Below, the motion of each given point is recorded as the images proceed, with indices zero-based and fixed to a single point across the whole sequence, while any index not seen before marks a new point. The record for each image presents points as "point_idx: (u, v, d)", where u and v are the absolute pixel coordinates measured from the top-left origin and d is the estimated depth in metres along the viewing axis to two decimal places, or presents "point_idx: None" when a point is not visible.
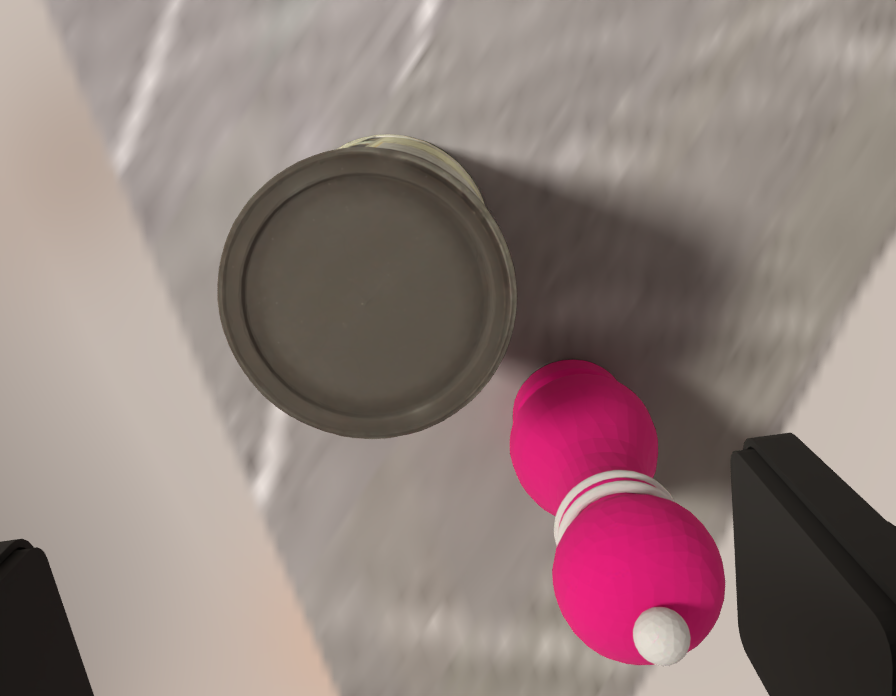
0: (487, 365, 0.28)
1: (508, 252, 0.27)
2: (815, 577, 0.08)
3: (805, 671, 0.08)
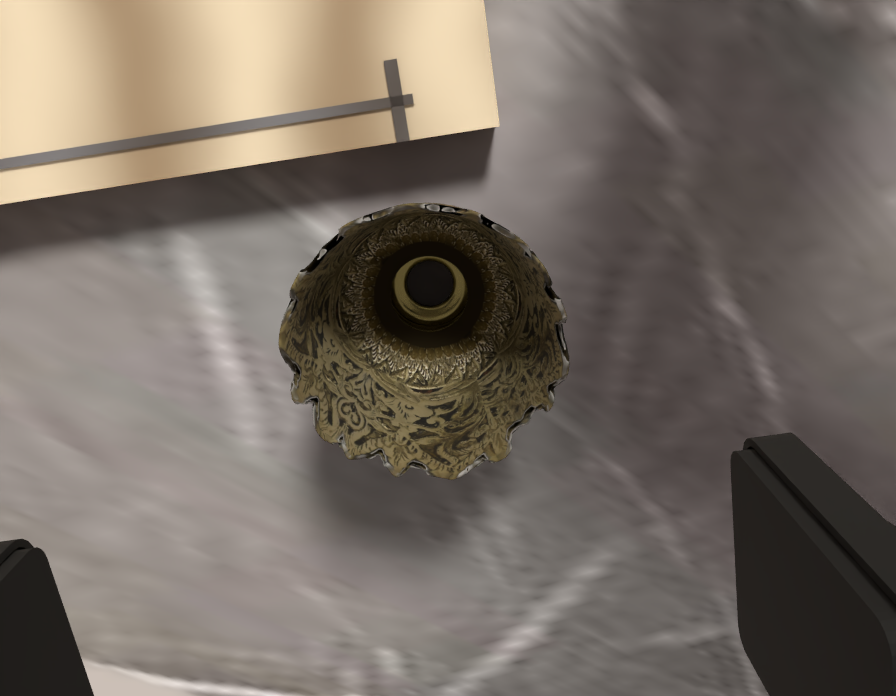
0: None
1: None
2: (815, 577, 0.08)
3: (805, 671, 0.08)
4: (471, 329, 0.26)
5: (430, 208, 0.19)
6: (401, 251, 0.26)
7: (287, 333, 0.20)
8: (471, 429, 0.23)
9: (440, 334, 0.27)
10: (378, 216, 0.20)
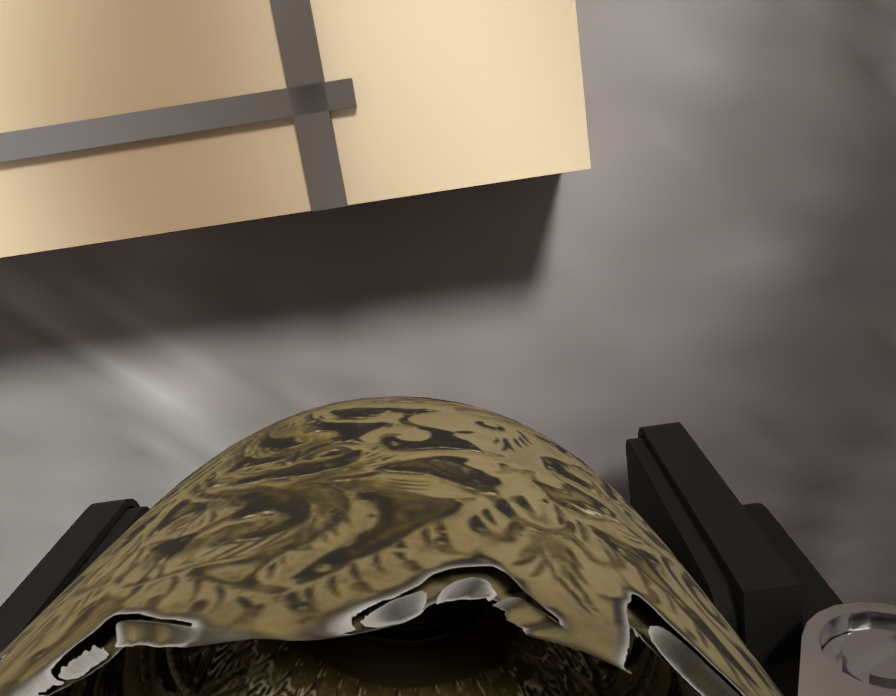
0: None
1: None
2: (675, 551, 0.09)
3: None
4: (507, 649, 0.11)
5: (382, 620, 0.04)
6: None
7: None
8: None
9: (432, 657, 0.11)
10: (144, 634, 0.04)
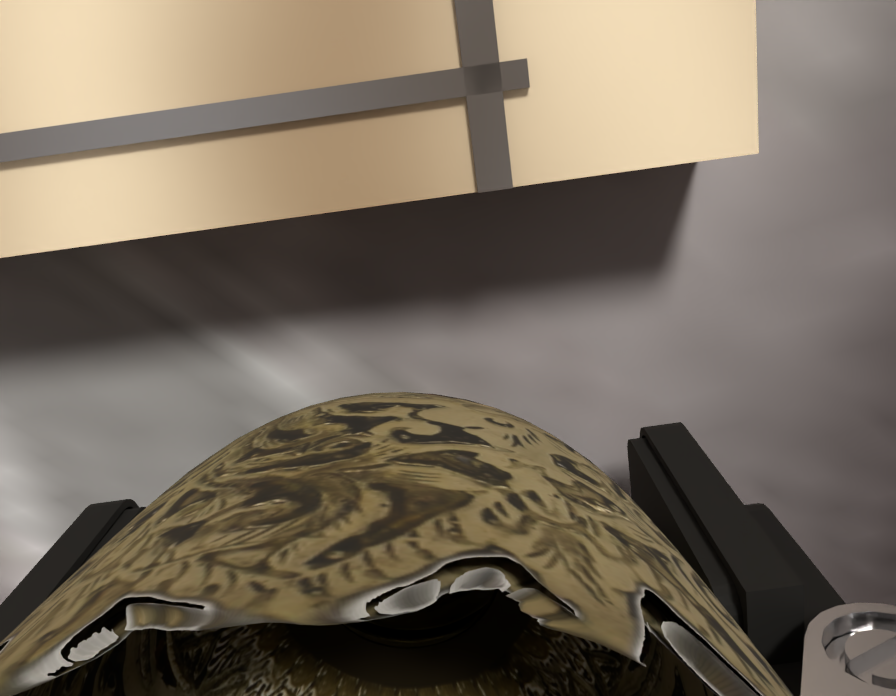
0: None
1: None
2: None
3: None
4: (508, 651, 0.11)
5: (395, 607, 0.04)
6: None
7: None
8: None
9: (433, 657, 0.11)
10: (154, 617, 0.04)
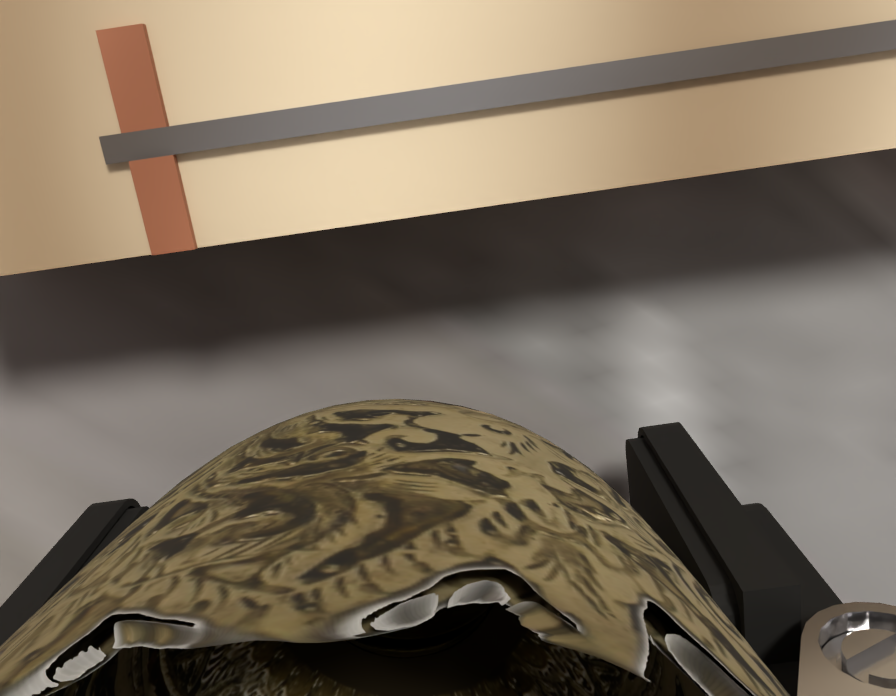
0: None
1: None
2: (675, 551, 0.09)
3: None
4: (506, 660, 0.11)
5: (392, 623, 0.04)
6: None
7: None
8: None
9: (430, 667, 0.11)
10: (143, 635, 0.04)
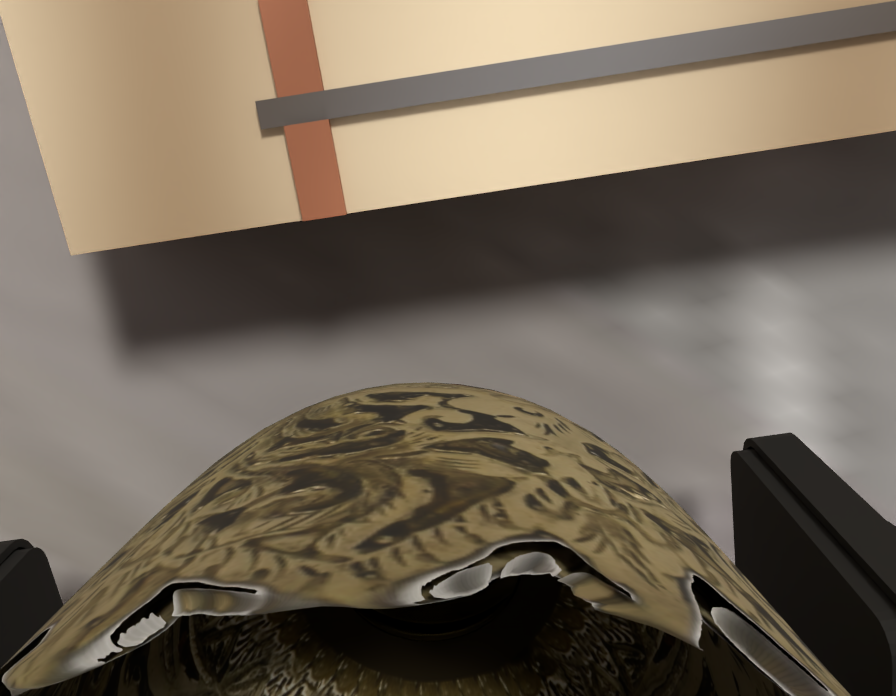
0: None
1: None
2: (815, 577, 0.08)
3: None
4: (530, 644, 0.11)
5: (449, 592, 0.04)
6: None
7: None
8: None
9: (454, 650, 0.11)
10: (202, 604, 0.04)
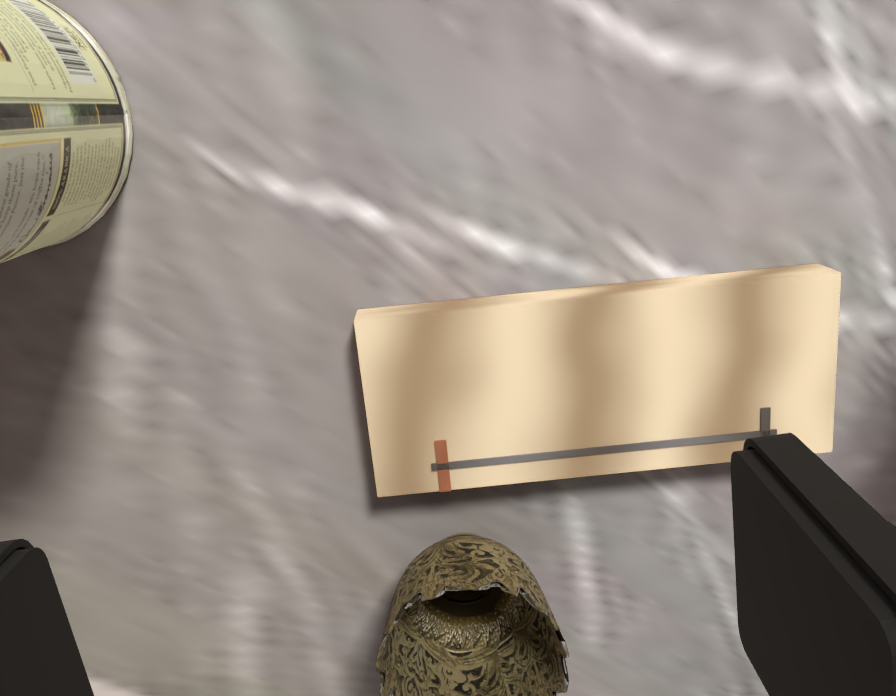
0: None
1: None
2: (815, 577, 0.08)
3: (805, 671, 0.08)
4: (494, 606, 0.36)
5: (484, 588, 0.29)
6: None
7: (381, 656, 0.30)
8: None
9: (471, 607, 0.37)
10: (449, 589, 0.30)
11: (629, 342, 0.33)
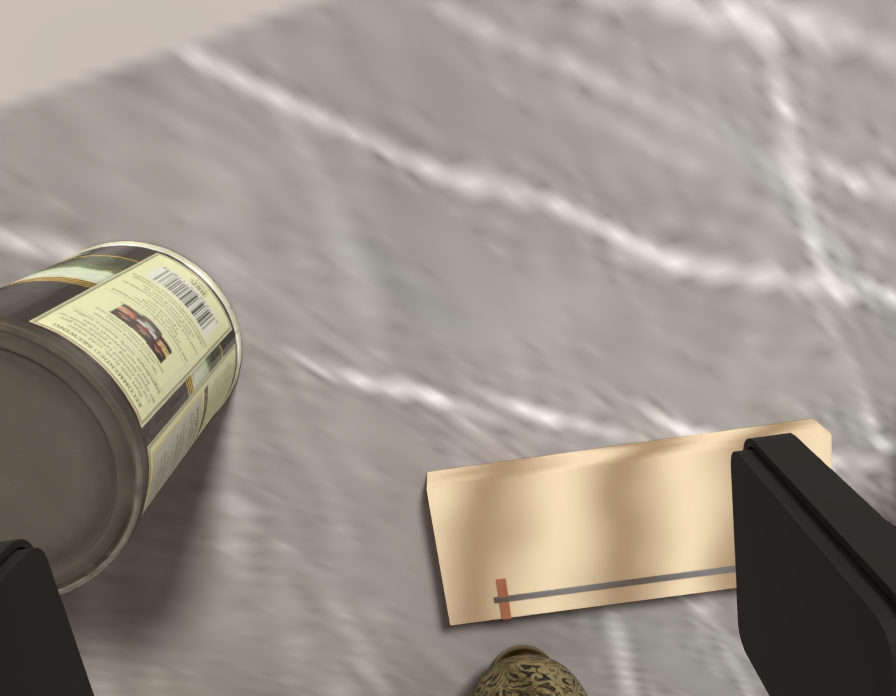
0: None
1: None
2: (815, 577, 0.08)
3: (805, 671, 0.08)
4: None
5: None
6: None
7: None
8: None
9: None
10: None
11: (655, 496, 0.39)
